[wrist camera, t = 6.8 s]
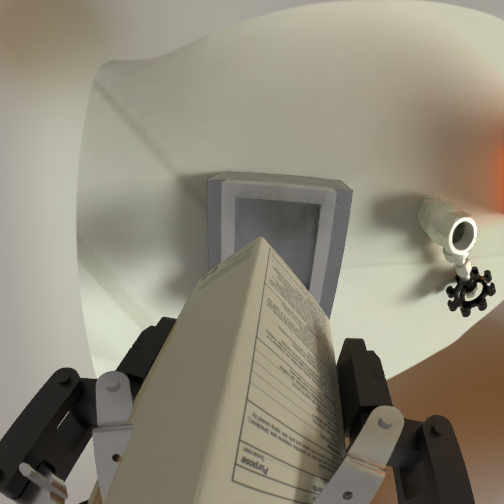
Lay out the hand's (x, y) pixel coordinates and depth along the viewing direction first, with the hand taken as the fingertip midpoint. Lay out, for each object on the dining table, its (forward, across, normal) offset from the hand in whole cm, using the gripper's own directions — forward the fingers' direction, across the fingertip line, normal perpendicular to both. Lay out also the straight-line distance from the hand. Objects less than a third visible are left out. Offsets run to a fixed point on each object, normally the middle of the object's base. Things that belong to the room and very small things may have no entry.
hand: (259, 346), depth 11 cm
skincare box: (+4, 0, 0) cm, 4 cm away
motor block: (+17, 0, +2) cm, 17 cm away
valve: (+17, -18, 0) cm, 25 cm away
